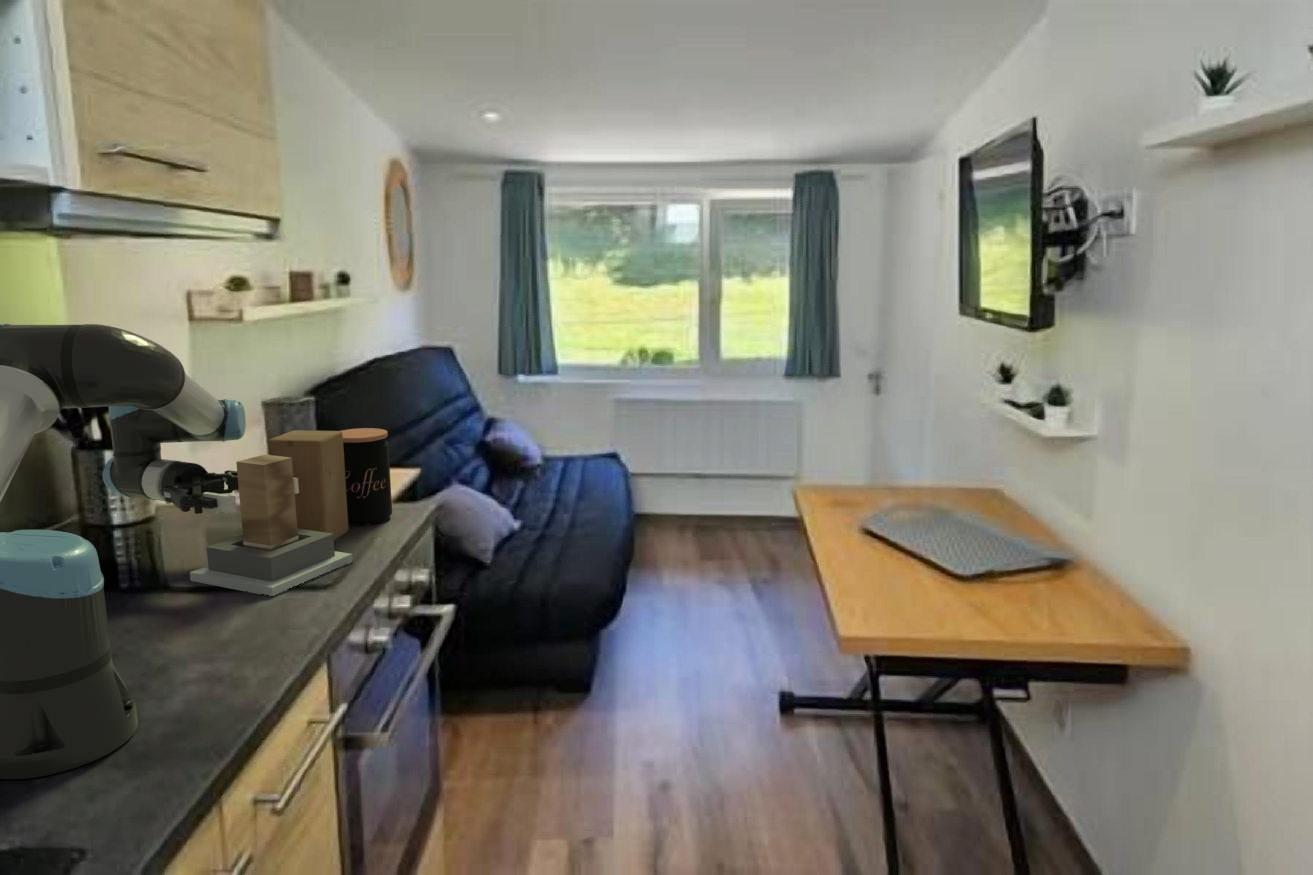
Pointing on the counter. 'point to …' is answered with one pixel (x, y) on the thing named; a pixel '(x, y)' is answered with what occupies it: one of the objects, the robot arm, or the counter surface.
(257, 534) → the walnut peg
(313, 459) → the wooden block
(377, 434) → the coffee jar
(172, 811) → the counter surface
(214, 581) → the socket board
